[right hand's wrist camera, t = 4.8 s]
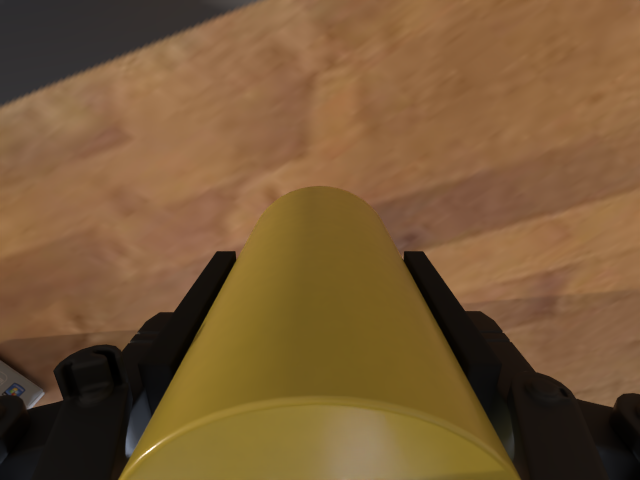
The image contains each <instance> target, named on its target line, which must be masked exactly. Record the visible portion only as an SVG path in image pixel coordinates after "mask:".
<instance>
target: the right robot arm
mask: <svg viewBox="0 0 640 480" xmlns="http://www.w3.org/2000/svg"><path fill="white" fill-rule="evenodd" d="M403 261H404V262H405V264H406V266H407V268H408V270H409V272H410V274H411V275H412V277H413V279H414V281H415V283H416V285H417V287H418V288H419V290H420V292H421V294H422V296H423V298H424V300H425V301H426V303H427V305H428V307H429V309H430V311H431V313H432V314H433V316H434V318H435V320H436V322H437V324H438V326H439V327H440V329H441V331H442V333H443V335H444V337H445V339H446V340H447V342H448V344H449V346H450V348H451V350H452V352H453V353H454V355H455V357H456V359H457V361H458V363H459V365H460V366H461V368H462V370H463V372H464V374H465V376H466V378H467V379H468V381H469V383H470V385H471V387H472V389H473V391H474V392H475V394H476V396H477V398H478V400H479V402H480V404H481V405H482V407H483V409H484V411H485V413H486V415H487V417H488V418H489V420H490V422H491V424H492V426H493V428H494V430H495V431H496V433H497V435H498V437H499V439H500V441H501V443H502V445H503V446H504V448H505V450H506V452H507V454H508V456H509V458H510V459H511V461H512V463H513V465H514V467H515V469H516V471H517V472H518V474H519V476H520V478H521V480H640V394H635V393H630V394H622V395H621V396H620V397H618V398H617V400H616V403H615V405H614V408H612V407H608V406H604V405H599V404H595V403H591V402H586V401H582V400H579V399H576V398H575V396H574V395H573V393H572V392H571V391H570V390H569V389H568V388H567V387H566V386H564V385H563V384H562V383H561V382H559V381H557V380H555V379H553V378H551V377H550V376H547V375H543V374H540V373H537V372H535V371H534V369H533V368H532V367H531V366H530V364H529V363H528V362H527V361H526V359H525V358H524V357H523V356H522V355H521V353H520V352H519V351H518V350H517V348H516V347H515V346H514V345H513V343H512V342H510V340H509V338H508V337H507V336H506V335H505V334H504V333H503V332H502V330H501V329H500V327H499V326H498V325H497V324H496V322H495V321H494V320H493V319H491V318H490V317H488V316H487V315H485V314H484V313H482V312H481V311H465V310H464V309H463V307H462V306H461V305H460V303H459V302H458V300H457V299H456V298H455V296H454V295H453V293H452V292H451V290H450V289H449V288H448V286H447V285H446V283H445V282H444V281H443V279H442V278H441V276H440V275H439V273H438V272H437V271H436V269H435V268H434V266H433V265H432V264H431V262H430V261H429V259H428V258H427V256H426V255H425V254H424V252H423V251H404V260H403ZM235 262H236V252H235V251H217V252H216V253H215V255H214V256H213V258H212V259H211V260H210V262H209V263H208V265H207V266H206V267H205V269H204V270H203V272H202V273H201V275H200V276H199V277H198V279H197V280H196V282H195V283H194V284H193V286H192V287H191V289H190V290H189V292H188V293H187V294H186V296H185V297H184V299H183V300H182V301H181V303H180V304H179V306H178V307H177V309H176V310H175V311H174V312H160V313H158V314H157V315H155V316H154V317H152V318H151V319H149V320H148V321H146V322H145V324H144V325H143V326H142V327H141V328H140V330H139V331H138V333H137V334H136V335H135V336H134V337H133V338H132V340H131V341H130V343H128V345H127V346H126V347H125V348H124V350H123V351H122V352H121V350H120V349H118V348H117V347H116V346H112V345H96V346H92V347H89V348H85V349H82V350H80V351H78V352H76V353H74V354H71V355H70V356H68V357H67V358H66V359H64V360H63V361H61V362H60V363H59V364H58V366H57V367H56V368H55V369H54V371H53V372H54V374H55V377H56V380H57V383H58V386H59V388H60V391H61V394H62V397H63V401H60V402H56V403H51V404H47V405H43V406H39V407H34V408H30V409H27V408H26V406H25V404H24V401H23V399H21V398H20V397H18V396H17V395H3V396H0V480H118V479H119V477H120V475H121V474H122V472H123V470H124V468H125V466H126V464H127V462H128V461H129V459H130V457H131V455H132V453H133V451H134V449H135V448H136V446H137V444H138V442H139V440H140V438H141V436H142V435H143V433H144V431H145V429H146V427H147V425H148V423H149V422H150V420H151V418H152V416H153V414H154V412H155V410H156V409H157V407H158V405H159V403H160V401H161V399H162V398H163V396H164V394H165V392H166V390H167V388H168V386H169V385H170V383H171V381H172V379H173V377H174V375H175V373H176V372H177V370H178V368H179V366H180V364H181V362H182V360H183V359H184V357H185V355H186V353H187V351H188V349H189V347H190V346H191V344H192V342H193V340H194V338H195V336H196V334H197V333H198V331H199V329H200V327H201V325H202V323H203V322H204V320H205V318H206V316H207V314H208V312H209V310H210V309H211V307H212V305H213V303H214V301H215V299H216V297H217V296H218V294H219V292H220V290H221V288H222V286H223V284H224V283H225V281H226V279H227V277H228V275H229V273H230V271H231V270H232V268H233V266H234V264H235Z"/></svg>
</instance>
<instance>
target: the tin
mask: <svg viewBox="0 0 640 480" xmlns="http://www.w3.org/2000/svg"><path fill="white" fill-rule="evenodd" d="M118 480H521V478H520V476H519V474H518V472H517V471H516V469H515V467H514V465H513V463H512V461H511V459H510V458H509V456H508V454H507V452H506V450H505V448H504V446H503V445H502V443H501V441H500V439H499V437H498V435H497V433H496V431H495V430H494V428H493V426H492V424H491V422H490V420H489V418H488V417H487V415H486V413H485V411H484V409H483V407H482V405H481V404H480V402H479V400H478V398H477V396H476V394H475V392H474V391H473V389H472V387H471V385H470V383H469V381H468V379H467V378H466V376H465V374H464V372H463V370H462V368H461V366H460V365H459V363H458V361H457V359H456V357H455V355H454V353H453V352H452V350H451V348H450V346H449V344H448V342H447V340H446V339H445V337H444V335H443V333H442V331H441V329H440V327H439V326H438V324H437V322H436V320H435V318H434V316H433V314H432V313H431V311H430V309H429V307H428V305H427V303H426V301H425V300H424V298H423V296H422V294H421V292H420V290H419V288H418V287H417V285H416V283H415V281H414V279H413V277H412V275H411V274H410V272H409V270H408V268H407V266H406V264H405V262H404V261H403V259H402V257H401V255H400V253H399V251H398V249H397V248H396V246H395V244H394V242H393V240H392V238H391V236H390V235H389V233H388V231H387V229H386V227H385V225H384V223H383V222H382V220H381V218H380V217H379V215H378V214H377V213H376V212H375V210H374V209H373V208H372V207H371V206H370V205H369V204H368V203H366V202H365V201H364V200H362V199H361V198H359V197H358V196H356V195H354V194H352V193H350V192H348V191H345V190H342V189H339V188H333V187H326V186H314V187H306V188H302V189H298V190H295V191H292V192H290V193H288V194H286V195H284V196H282V197H280V198H279V199H277V200H276V201H275V202H273V203H272V204H271V205H270V206H269V207H268V208H267V209H266V210H265V211H264V213H263V214H262V215H261V217H260V218H259V220H258V222H257V223H256V225H255V227H254V229H253V231H252V233H251V234H250V236H249V238H248V240H247V242H246V244H245V245H244V247H243V249H242V251H241V253H240V255H239V257H238V258H237V260H236V262H235V264H234V266H233V268H232V270H231V271H230V273H229V275H228V277H227V279H226V281H225V283H224V284H223V286H222V288H221V290H220V292H219V294H218V296H217V297H216V299H215V301H214V303H213V305H212V307H211V309H210V310H209V312H208V314H207V316H206V318H205V320H204V322H203V323H202V325H201V327H200V329H199V331H198V333H197V334H196V336H195V338H194V340H193V342H192V344H191V346H190V347H189V349H188V351H187V353H186V355H185V357H184V359H183V360H182V362H181V364H180V366H179V368H178V370H177V372H176V373H175V375H174V377H173V379H172V381H171V383H170V385H169V386H168V388H167V390H166V392H165V394H164V396H163V398H162V399H161V401H160V403H159V405H158V407H157V409H156V410H155V412H154V414H153V416H152V418H151V420H150V422H149V423H148V425H147V427H146V429H145V431H144V433H143V435H142V436H141V438H140V440H139V442H138V444H137V446H136V448H135V449H134V451H133V453H132V455H131V457H130V459H129V461H128V462H127V464H126V466H125V468H124V470H123V472H122V474H121V475H120V477H119V479H118Z"/></svg>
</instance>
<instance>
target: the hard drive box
mask: <svg viewBox="0 0 640 480" xmlns="http://www.w3.org/2000/svg"><path fill="white" fill-rule="evenodd" d="M44 394H45V392H43V389H42V388H40V387H39V386H37V385H36V384H34V383H33V382H31V381H30V380H28V379H27V378H25V377H24V376H22V375H21V374H19V373H18V372H17V371H15V370H14V369H12V368H11V367H9V366H8V365H6V364H5V363H4V362H2V361H1V360H0V396H3V395H17V396H18V397H20V398H21V399H23V401H24V404H25V406H26V408H27V409H30V408H32V407H33V406H34V405H35V404H36V403H37V402H38V400H39V399H40V398H41V397H42V396H43V395H44Z"/></svg>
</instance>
